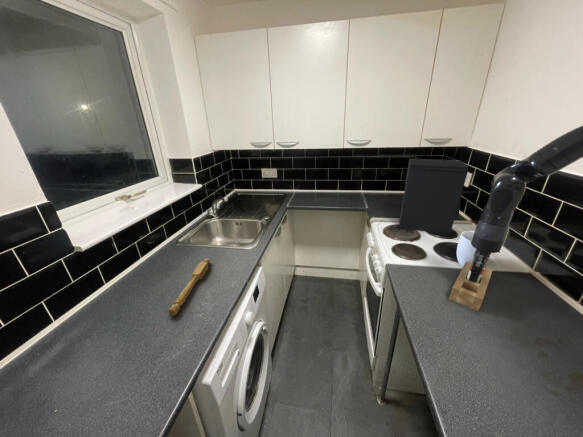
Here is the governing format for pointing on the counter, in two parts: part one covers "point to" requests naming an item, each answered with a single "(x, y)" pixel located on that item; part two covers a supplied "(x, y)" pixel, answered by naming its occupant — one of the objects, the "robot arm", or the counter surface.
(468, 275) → the red capped shaker
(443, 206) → the tall black box
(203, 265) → the tap handle
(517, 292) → the counter surface
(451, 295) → the holder
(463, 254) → the mug
